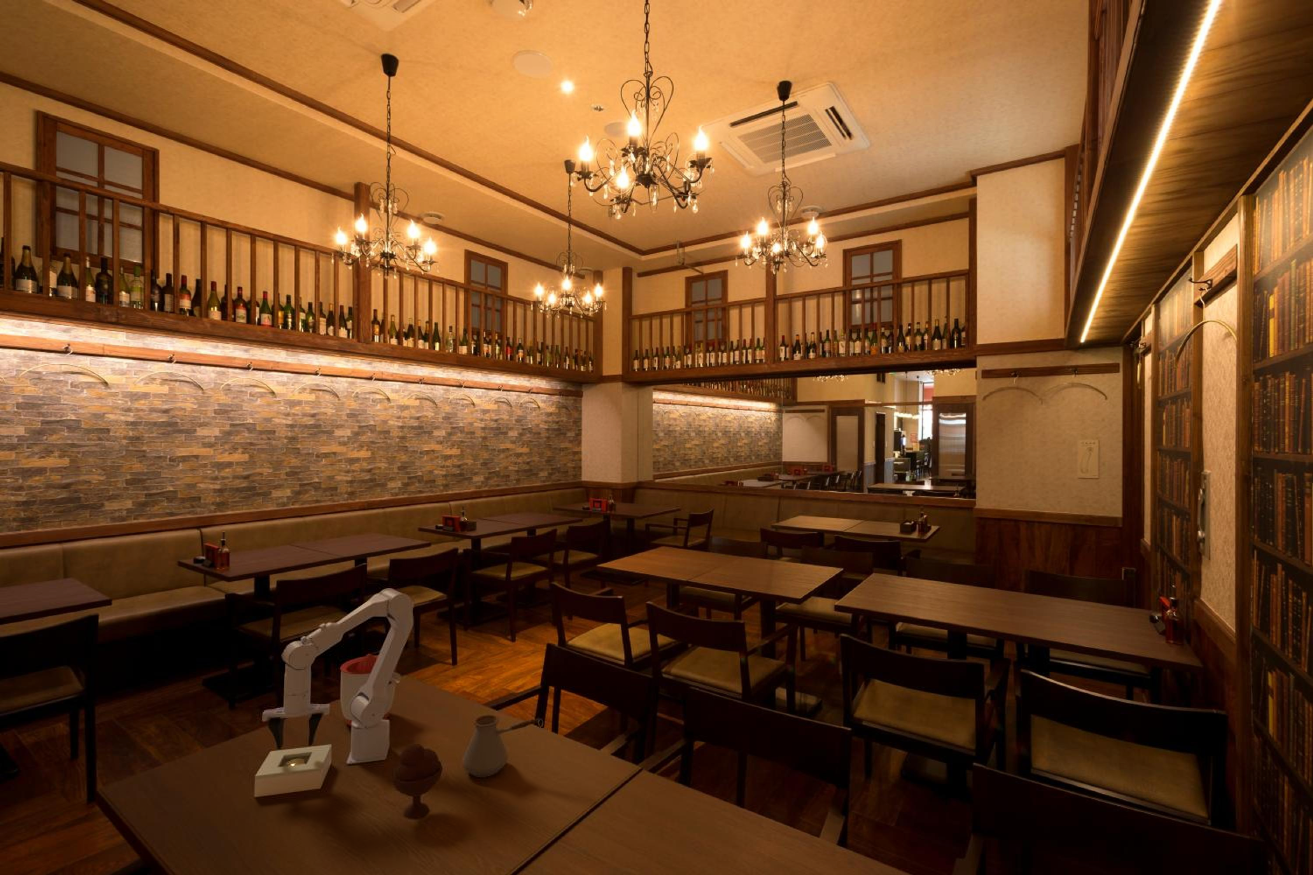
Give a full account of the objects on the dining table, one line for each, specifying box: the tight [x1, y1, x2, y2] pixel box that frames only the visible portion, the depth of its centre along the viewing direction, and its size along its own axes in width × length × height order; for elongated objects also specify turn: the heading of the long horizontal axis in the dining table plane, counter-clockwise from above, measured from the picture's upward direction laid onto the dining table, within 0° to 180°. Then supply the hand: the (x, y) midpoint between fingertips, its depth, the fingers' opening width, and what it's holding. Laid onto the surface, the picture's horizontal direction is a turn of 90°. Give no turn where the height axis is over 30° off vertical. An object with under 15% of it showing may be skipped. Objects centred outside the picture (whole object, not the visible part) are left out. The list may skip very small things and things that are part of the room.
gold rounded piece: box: [283, 758, 304, 767], centre depth 151 cm, size 4×4×3 cm
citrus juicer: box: [339, 653, 402, 727], centre depth 185 cm, size 16×17×20 cm
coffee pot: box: [462, 714, 544, 778], centre depth 157 cm, size 21×12×15 cm, turn 78°
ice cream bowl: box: [391, 743, 443, 819], centre depth 139 cm, size 11×11×15 cm
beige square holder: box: [253, 744, 332, 798], centre depth 151 cm, size 14×12×5 cm
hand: (295, 745), depth 151 cm, fingers open, 6 cm apart
